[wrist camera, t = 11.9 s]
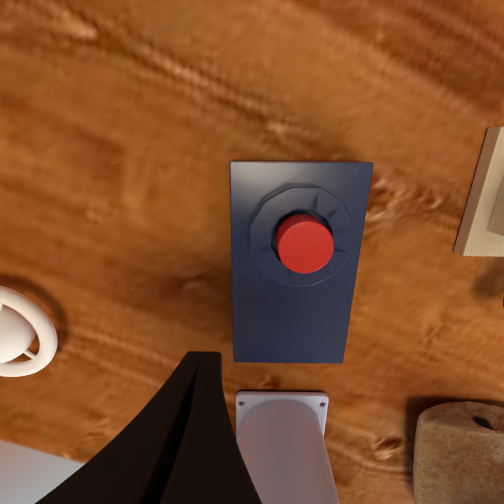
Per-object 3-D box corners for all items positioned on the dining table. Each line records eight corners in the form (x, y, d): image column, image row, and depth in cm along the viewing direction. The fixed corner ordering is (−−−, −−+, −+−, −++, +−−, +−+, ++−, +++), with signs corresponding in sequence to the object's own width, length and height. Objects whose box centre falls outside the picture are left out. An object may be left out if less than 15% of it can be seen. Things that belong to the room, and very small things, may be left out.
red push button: (323, 261, 16) (331, 274, 14) (274, 260, 16) (276, 273, 14) (328, 213, 15) (337, 221, 13) (276, 213, 15) (279, 220, 13)
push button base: (334, 342, 22) (350, 382, 19) (235, 341, 22) (231, 380, 19) (359, 161, 17) (388, 164, 14) (232, 159, 17) (226, 162, 14)
